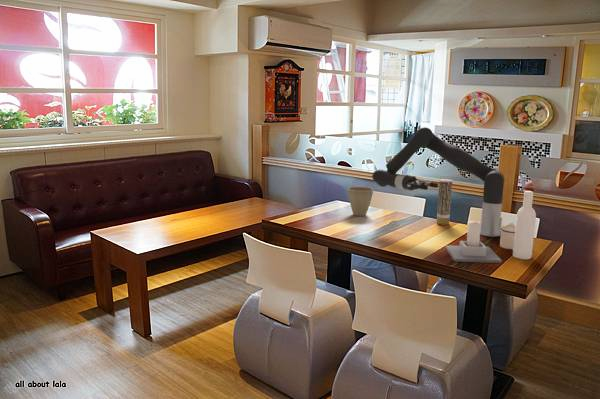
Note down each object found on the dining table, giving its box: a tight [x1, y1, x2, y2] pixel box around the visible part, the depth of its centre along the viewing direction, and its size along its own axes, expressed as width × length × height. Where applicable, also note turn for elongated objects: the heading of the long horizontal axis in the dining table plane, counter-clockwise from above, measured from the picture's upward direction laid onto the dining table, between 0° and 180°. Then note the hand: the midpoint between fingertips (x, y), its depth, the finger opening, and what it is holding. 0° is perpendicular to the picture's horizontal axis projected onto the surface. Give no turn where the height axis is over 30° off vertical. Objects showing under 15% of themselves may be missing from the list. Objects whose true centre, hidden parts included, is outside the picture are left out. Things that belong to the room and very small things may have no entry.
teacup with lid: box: [499, 222, 516, 250], centre depth 239 cm, size 12×9×12 cm
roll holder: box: [444, 240, 503, 264], centre depth 226 cm, size 20×20×5 cm
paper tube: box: [436, 178, 453, 226], centre depth 279 cm, size 7×7×25 cm
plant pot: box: [347, 186, 374, 217], centre depth 299 cm, size 15×15×16 cm
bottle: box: [512, 190, 537, 260], centre depth 222 cm, size 8×8×30 cm
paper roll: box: [466, 220, 481, 247], centre depth 225 cm, size 5×5×14 cm
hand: (432, 186), depth 246 cm, fingers open, 8 cm apart
